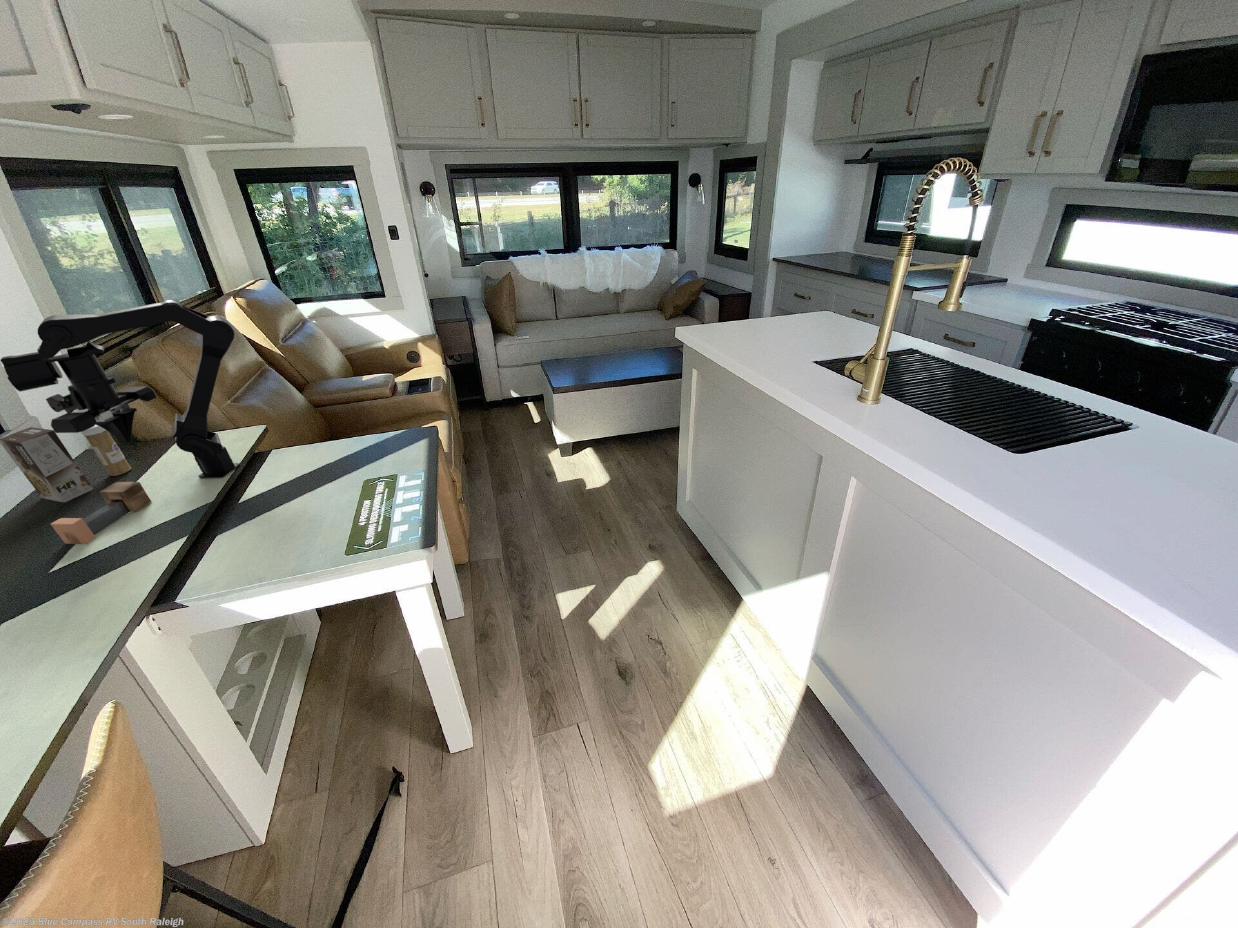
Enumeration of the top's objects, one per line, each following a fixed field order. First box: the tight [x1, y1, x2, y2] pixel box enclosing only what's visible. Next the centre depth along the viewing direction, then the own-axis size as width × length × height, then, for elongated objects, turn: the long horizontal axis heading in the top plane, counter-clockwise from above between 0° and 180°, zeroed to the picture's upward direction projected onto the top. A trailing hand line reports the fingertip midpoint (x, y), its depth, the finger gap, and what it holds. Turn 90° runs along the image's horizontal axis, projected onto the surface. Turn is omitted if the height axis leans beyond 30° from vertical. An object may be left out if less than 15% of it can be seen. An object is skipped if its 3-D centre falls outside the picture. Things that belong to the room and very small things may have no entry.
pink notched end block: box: [50, 517, 97, 545], centre depth 106 cm, size 2×5×5 cm, turn 85°
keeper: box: [99, 481, 152, 513], centre depth 116 cm, size 4×6×5 cm
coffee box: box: [0, 426, 94, 503], centre depth 120 cm, size 9×6×16 cm
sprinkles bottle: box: [80, 425, 132, 477], centre depth 129 cm, size 5×5×13 cm
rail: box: [64, 499, 130, 545], centre depth 112 cm, size 16×2×3 cm, turn 175°
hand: (127, 443), depth 116 cm, fingers closed
